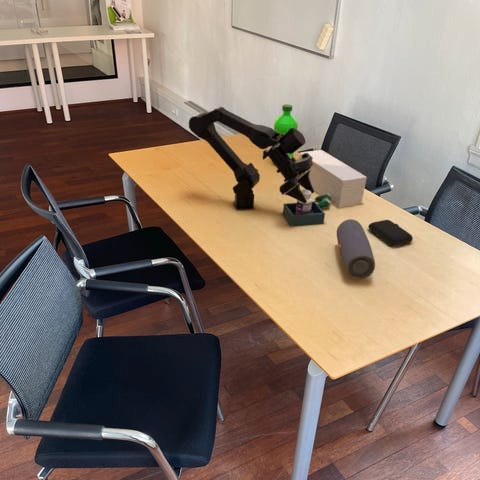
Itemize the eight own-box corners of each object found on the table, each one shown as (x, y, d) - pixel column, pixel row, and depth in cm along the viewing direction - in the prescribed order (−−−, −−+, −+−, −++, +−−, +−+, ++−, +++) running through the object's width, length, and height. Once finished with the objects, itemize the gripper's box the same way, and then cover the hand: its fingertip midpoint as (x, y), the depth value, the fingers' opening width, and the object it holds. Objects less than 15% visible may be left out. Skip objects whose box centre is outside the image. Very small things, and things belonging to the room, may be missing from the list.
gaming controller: (318, 215, 177) (331, 206, 174) (312, 207, 176) (325, 198, 173) (320, 205, 184) (332, 196, 181) (314, 197, 183) (327, 188, 180)
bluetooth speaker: (332, 244, 156) (337, 217, 150) (359, 245, 156) (365, 218, 150) (341, 282, 139) (347, 253, 132) (372, 283, 139) (380, 254, 132)
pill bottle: (293, 214, 172) (295, 189, 166) (306, 213, 173) (310, 188, 167) (298, 221, 168) (301, 195, 162) (312, 219, 169) (315, 194, 163)
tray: (291, 226, 166) (292, 216, 163) (282, 213, 173) (283, 203, 171) (323, 223, 168) (325, 213, 166) (313, 211, 176) (314, 201, 173)
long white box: (296, 177, 201) (299, 152, 194) (317, 174, 205) (321, 149, 198) (338, 207, 179) (343, 180, 172) (361, 203, 182) (367, 177, 176)
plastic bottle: (266, 164, 212) (270, 106, 196) (278, 158, 219) (283, 101, 203) (285, 169, 208) (291, 110, 192) (297, 163, 214) (303, 105, 199)
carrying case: (416, 243, 159) (389, 224, 169) (419, 235, 157) (391, 216, 167) (391, 248, 155) (365, 229, 166) (393, 240, 153) (366, 221, 164)
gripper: (291, 156, 149) (320, 195, 153) (308, 139, 163) (334, 175, 167) (267, 175, 156) (295, 212, 160) (284, 158, 170) (310, 192, 174)
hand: (309, 197), depth 165 cm, fingers open, 9 cm apart
